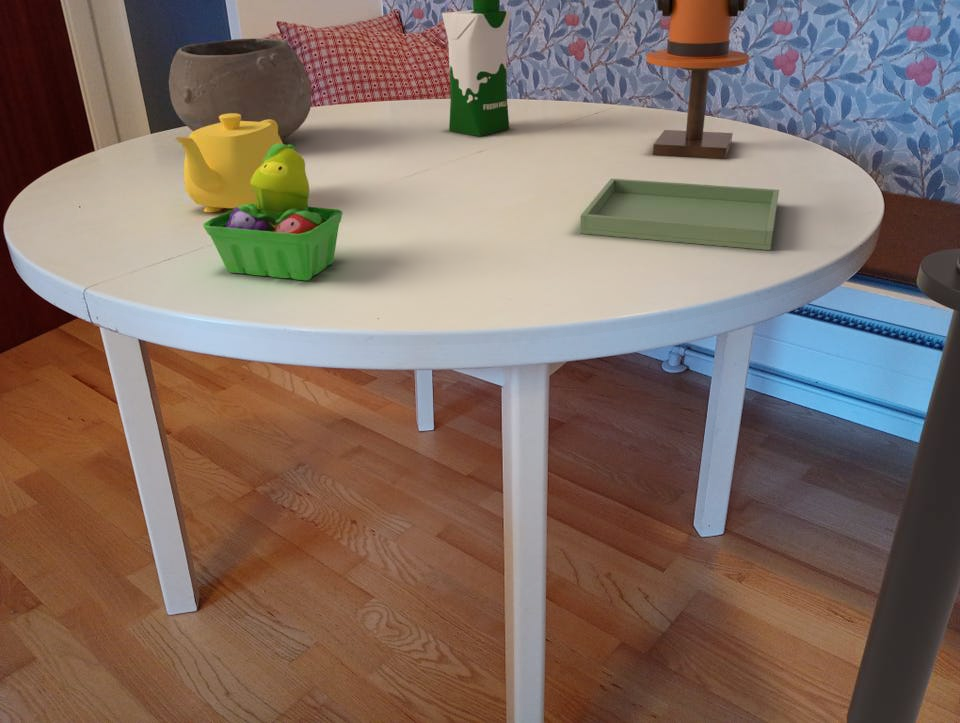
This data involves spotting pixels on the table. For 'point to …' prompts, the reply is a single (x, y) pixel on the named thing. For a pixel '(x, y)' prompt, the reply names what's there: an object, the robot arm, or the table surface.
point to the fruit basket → (277, 224)
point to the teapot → (226, 160)
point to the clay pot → (240, 83)
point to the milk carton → (478, 68)
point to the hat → (699, 37)
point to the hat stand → (694, 126)
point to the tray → (683, 213)
